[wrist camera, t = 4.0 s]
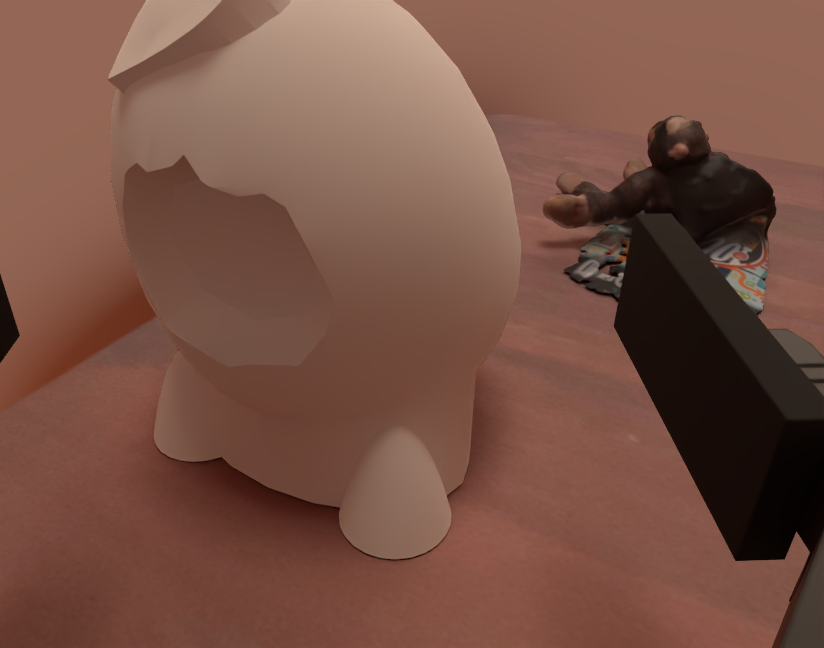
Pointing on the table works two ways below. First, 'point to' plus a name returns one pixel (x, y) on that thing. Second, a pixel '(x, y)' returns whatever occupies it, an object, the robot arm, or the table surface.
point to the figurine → (315, 249)
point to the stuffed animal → (675, 209)
